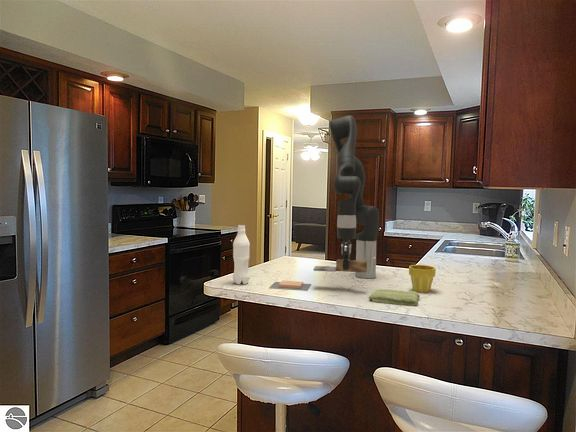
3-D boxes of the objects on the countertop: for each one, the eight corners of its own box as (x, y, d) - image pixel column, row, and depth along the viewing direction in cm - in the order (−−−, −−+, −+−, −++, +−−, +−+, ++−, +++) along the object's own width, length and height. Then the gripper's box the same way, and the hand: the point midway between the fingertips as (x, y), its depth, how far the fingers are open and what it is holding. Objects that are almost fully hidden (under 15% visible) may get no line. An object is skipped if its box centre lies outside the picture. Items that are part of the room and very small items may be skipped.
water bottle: (252, 282, 183) (253, 225, 181) (244, 285, 177) (244, 226, 175) (238, 280, 186) (238, 224, 184) (229, 284, 180) (229, 225, 178)
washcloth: (373, 294, 168) (373, 286, 167) (419, 299, 161) (420, 291, 161) (367, 303, 155) (367, 294, 155) (417, 308, 149) (417, 299, 149)
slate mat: (311, 285, 179) (311, 284, 179) (307, 292, 168) (307, 290, 168) (275, 283, 183) (275, 281, 182) (268, 289, 171) (268, 288, 171)
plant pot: (421, 294, 166) (422, 270, 166) (402, 288, 176) (403, 265, 175) (440, 292, 171) (441, 268, 170) (421, 286, 180) (422, 263, 180)
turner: (366, 269, 171) (366, 260, 171) (366, 272, 166) (366, 262, 165) (315, 267, 175) (315, 258, 175) (313, 270, 169) (313, 260, 169)
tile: (303, 281, 177) (282, 280, 179) (300, 285, 171) (278, 284, 172) (303, 284, 178) (282, 283, 179) (300, 288, 171) (278, 287, 172)
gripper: (355, 228, 161) (355, 272, 162) (356, 224, 175) (355, 265, 176) (335, 227, 162) (335, 272, 164) (338, 224, 176) (337, 264, 178)
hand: (346, 268), depth 170 cm, fingers closed on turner, 4 cm apart
